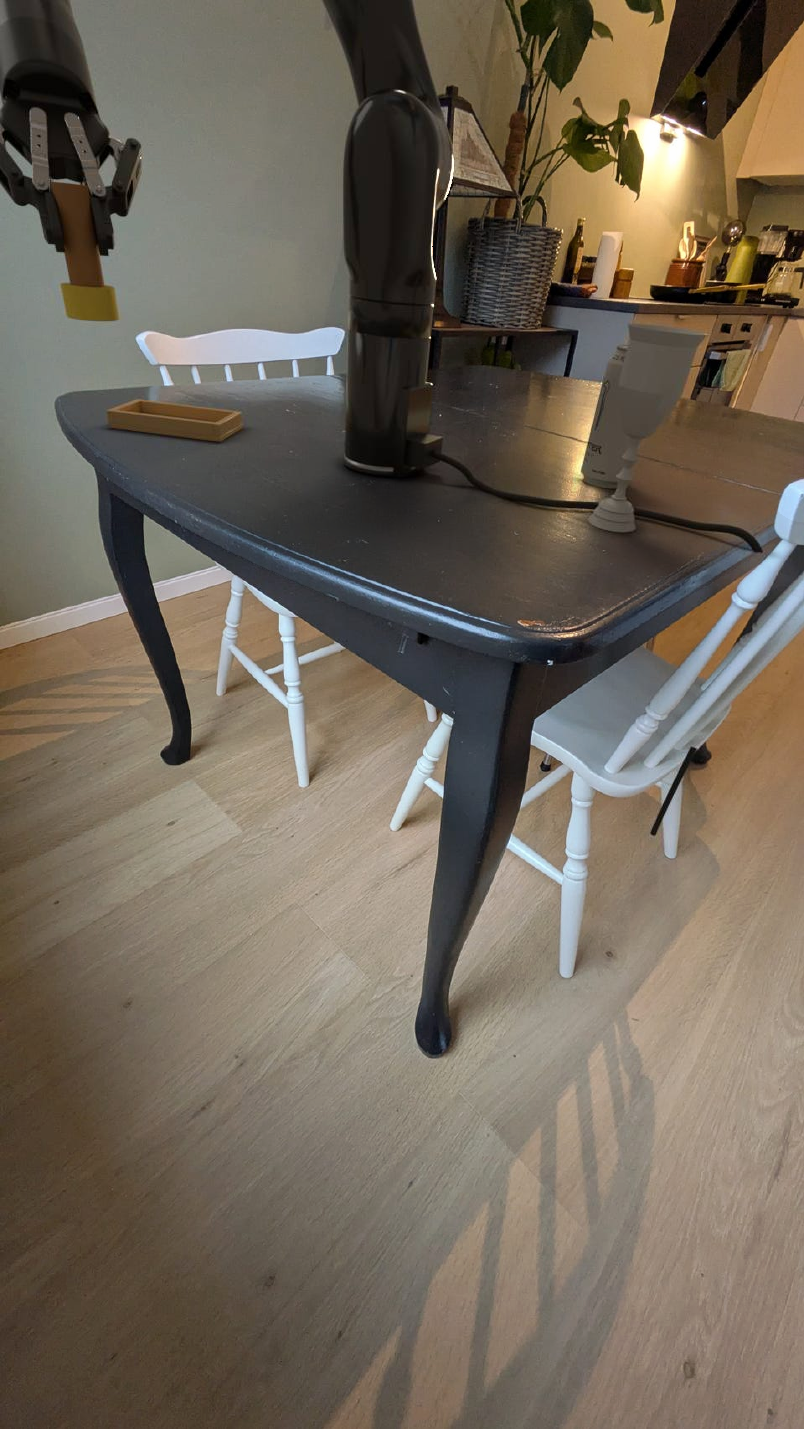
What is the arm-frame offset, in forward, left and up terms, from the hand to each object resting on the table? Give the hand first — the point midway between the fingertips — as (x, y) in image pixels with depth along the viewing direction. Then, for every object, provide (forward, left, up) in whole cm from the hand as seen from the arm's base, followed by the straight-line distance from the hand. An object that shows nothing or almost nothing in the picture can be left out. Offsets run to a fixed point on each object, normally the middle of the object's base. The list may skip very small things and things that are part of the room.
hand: (82, 245), depth 53 cm
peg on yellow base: (+2, -1, -5) cm, 6 cm away
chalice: (-45, -26, -20) cm, 55 cm away
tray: (+13, -21, -20) cm, 32 cm away
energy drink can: (-40, -41, -20) cm, 60 cm away
